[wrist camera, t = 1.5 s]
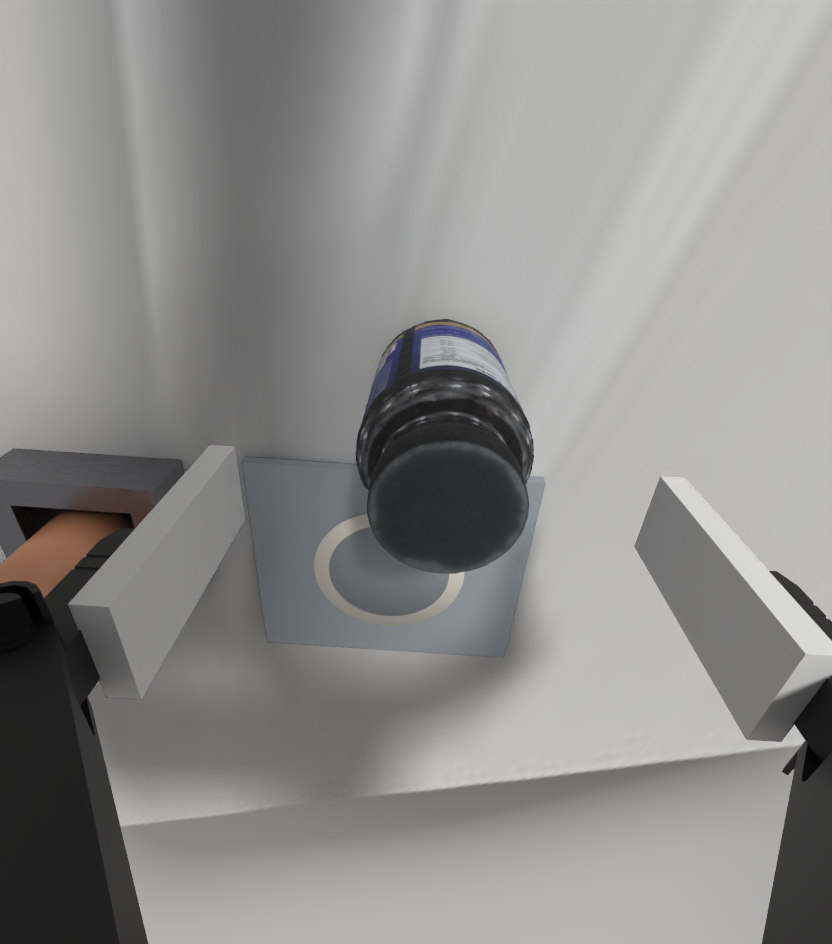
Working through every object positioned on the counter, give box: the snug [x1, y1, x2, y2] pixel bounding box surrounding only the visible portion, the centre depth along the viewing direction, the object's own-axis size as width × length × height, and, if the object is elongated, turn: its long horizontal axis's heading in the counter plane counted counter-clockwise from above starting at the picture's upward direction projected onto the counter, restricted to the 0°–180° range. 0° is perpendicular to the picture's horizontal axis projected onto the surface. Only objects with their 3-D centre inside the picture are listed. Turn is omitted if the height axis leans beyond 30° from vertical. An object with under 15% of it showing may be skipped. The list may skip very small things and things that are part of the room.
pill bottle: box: [356, 319, 534, 574], centre depth 18 cm, size 6×6×11 cm
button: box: [0, 509, 135, 598], centre depth 24 cm, size 5×5×5 cm
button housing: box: [0, 449, 184, 558], centre depth 27 cm, size 9×9×3 cm
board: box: [241, 457, 545, 658], centre depth 29 cm, size 14×16×1 cm
